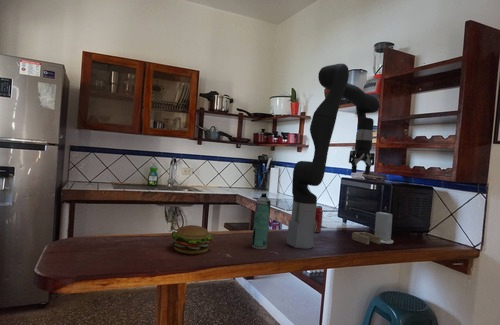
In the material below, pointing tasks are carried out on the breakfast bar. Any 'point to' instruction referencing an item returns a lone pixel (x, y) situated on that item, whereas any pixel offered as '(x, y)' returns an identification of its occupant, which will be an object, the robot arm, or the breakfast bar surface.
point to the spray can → (261, 222)
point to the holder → (365, 237)
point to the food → (192, 239)
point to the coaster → (387, 242)
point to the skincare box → (383, 225)
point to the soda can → (318, 219)
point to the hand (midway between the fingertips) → (360, 173)
